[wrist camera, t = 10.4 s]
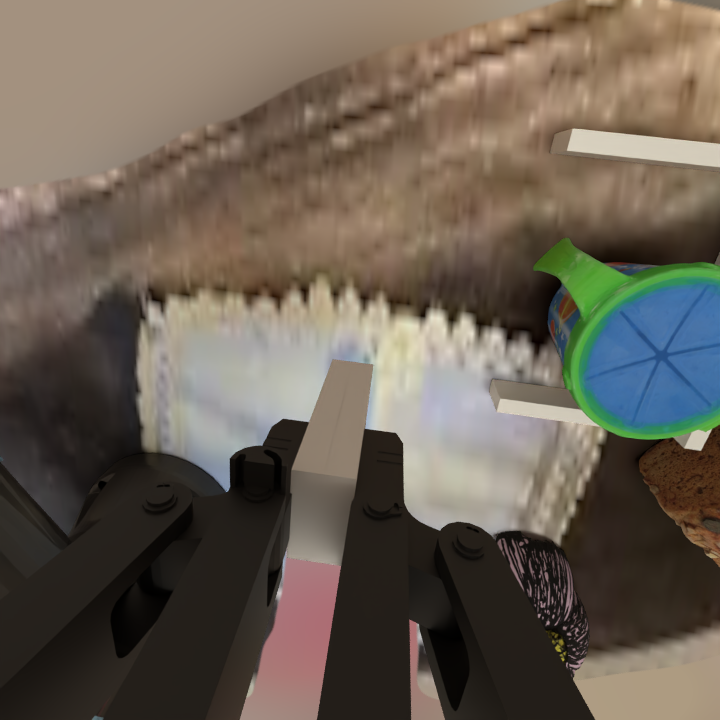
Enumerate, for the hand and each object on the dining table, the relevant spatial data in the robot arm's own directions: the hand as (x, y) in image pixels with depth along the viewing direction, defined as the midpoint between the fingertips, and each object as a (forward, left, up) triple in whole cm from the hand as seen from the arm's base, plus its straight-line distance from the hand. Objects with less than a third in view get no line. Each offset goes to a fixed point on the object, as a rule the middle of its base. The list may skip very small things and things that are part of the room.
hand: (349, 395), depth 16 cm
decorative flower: (+17, -30, -20) cm, 40 cm away
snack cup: (+17, 0, -20) cm, 26 cm away
